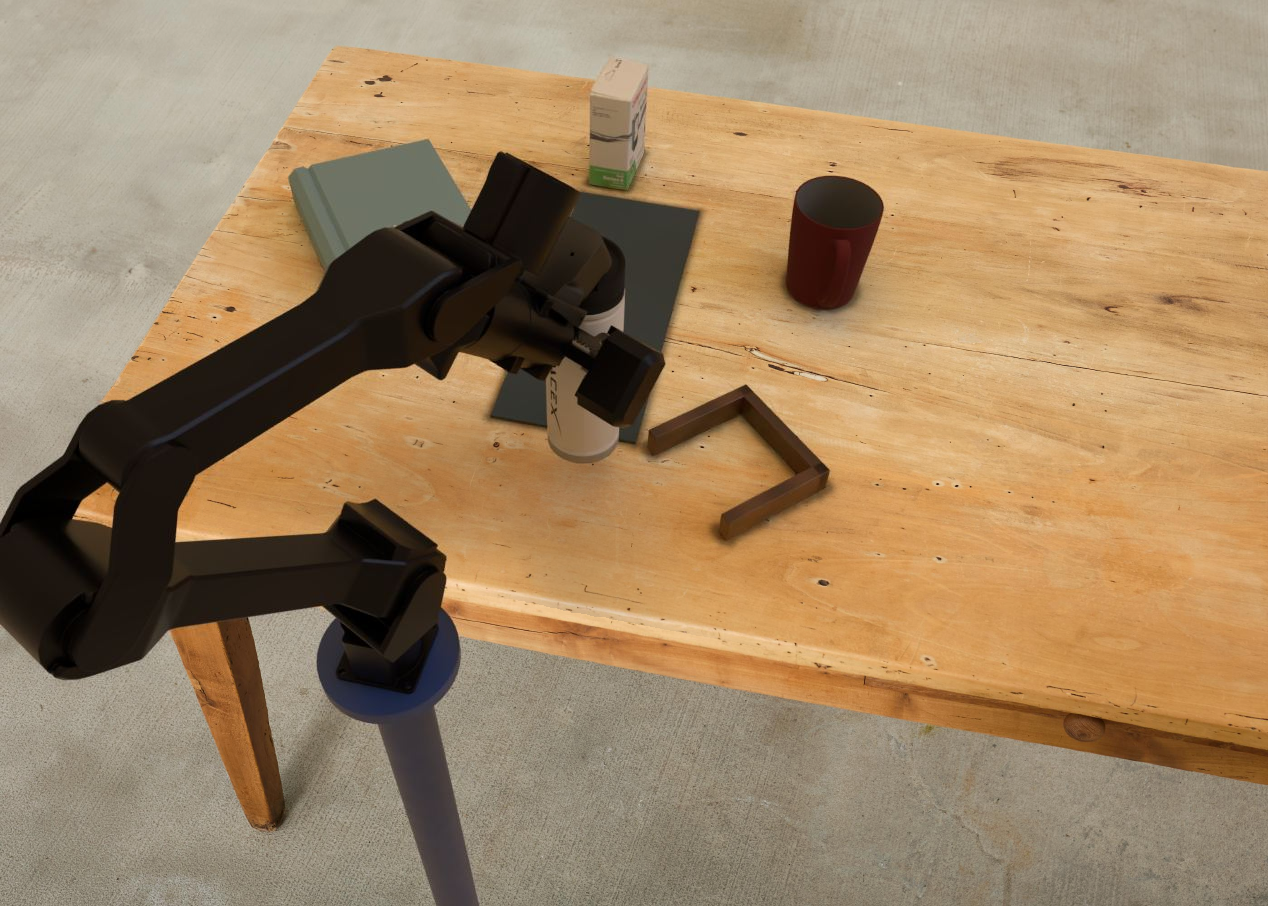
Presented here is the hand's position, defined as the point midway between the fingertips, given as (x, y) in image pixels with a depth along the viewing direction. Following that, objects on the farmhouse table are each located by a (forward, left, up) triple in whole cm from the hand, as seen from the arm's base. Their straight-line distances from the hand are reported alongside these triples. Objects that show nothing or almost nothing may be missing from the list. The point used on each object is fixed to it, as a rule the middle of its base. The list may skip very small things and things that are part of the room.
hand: (594, 350), depth 87 cm
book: (+23, +27, -13) cm, 38 cm away
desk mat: (+20, +3, -13) cm, 24 cm away
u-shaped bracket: (+1, -13, -13) cm, 18 cm away
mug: (+27, -19, -13) cm, 36 cm away
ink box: (+44, +7, -13) cm, 47 cm away
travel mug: (-1, +1, -10) cm, 10 cm away
